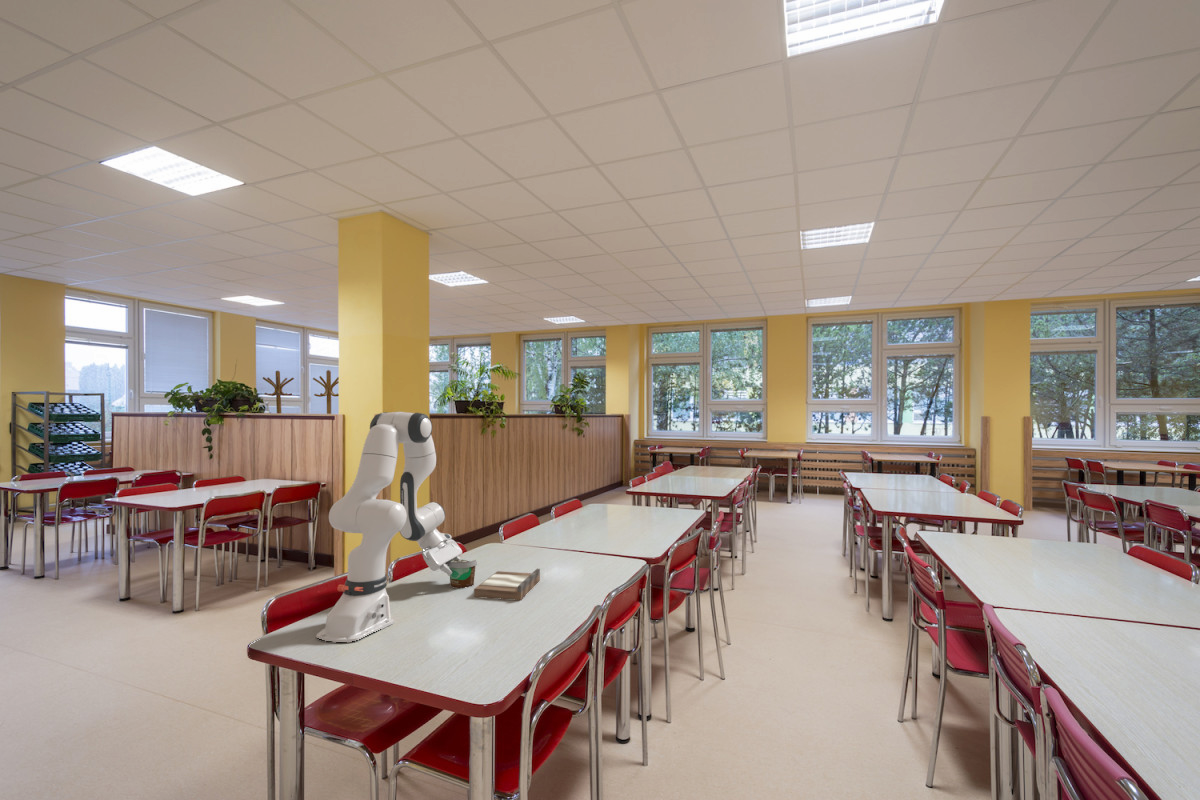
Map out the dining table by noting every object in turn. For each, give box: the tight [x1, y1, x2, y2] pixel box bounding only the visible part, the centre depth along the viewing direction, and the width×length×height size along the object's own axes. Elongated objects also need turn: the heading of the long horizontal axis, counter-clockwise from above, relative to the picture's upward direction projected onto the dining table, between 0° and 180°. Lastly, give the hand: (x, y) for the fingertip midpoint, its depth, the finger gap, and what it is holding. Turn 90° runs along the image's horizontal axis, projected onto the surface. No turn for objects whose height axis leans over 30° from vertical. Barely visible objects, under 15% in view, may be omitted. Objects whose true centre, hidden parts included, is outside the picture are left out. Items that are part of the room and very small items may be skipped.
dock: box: [473, 568, 541, 601], centre depth 194 cm, size 22×18×5 cm
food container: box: [446, 559, 478, 589], centre depth 197 cm, size 12×6×10 cm, turn 73°
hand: (456, 570), depth 197 cm, fingers open, 7 cm apart
